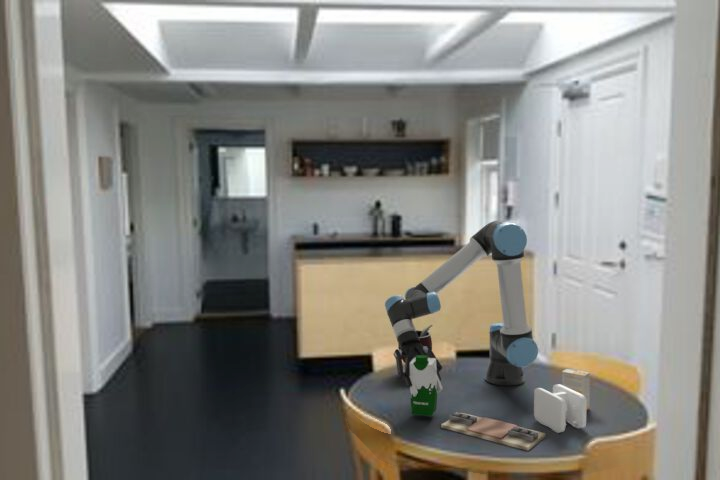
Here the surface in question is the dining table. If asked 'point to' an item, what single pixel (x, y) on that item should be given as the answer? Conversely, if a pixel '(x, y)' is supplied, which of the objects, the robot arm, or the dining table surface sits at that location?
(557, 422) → the cable organizer
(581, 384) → the supplement box
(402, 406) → the dining table surface
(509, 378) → the robot arm
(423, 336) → the mate gourd
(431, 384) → the soya milk
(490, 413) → the dining table surface
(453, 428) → the board with end clamps
